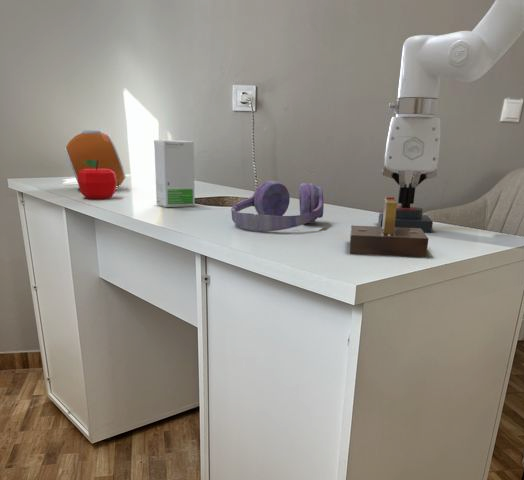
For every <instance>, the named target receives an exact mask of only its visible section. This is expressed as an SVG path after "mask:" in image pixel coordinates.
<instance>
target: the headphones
mask: <svg viewBox="0 0 524 480" xmlns="http://www.w3.org/2000/svg"><path fill="white" fill-rule="evenodd" d="M298 189H299V191H298V192H299V193H298V195H299V196H298V197H299V198H298V199H299V200H298V201H299V214H298V215H297V214H296V215H285V214H286V213H287V211H288V209H289V206H290V200H291V198H290V193H289V190H288V188H287V186H286V185H285V184H283V182H281V181H275V180H267V181H264V182H263V183H261V184H260V185H258V186H257V188H256V189H255V191H254V193H253V194H252V196H250V197H248V198H246V199H242V200H240V201H238V202H236V203H234V205H233V206H231V209H230V210H231V211H230V212H231V220H232V221H233V223H234V224H235V225H236V226H238V227H240V228H242V229H244V230H248V231H251V232H259V233H263V232H264V233H268V232H277V231H283V230H288V229H293V228H297V227H300V226H303V225H305V224H308V223H314V222H316V220H318V219H319V218H323V217H324V190H323V187H322V186H316V185H315V184H314V183H306V182H303V183H301V184H300V185H299V188H298ZM251 207H254V209H255V211H256V214H255V213H251V212H250V213H249V212H241V211H242V210H245V209H247V208H251Z"/></svg>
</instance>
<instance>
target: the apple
mask: <svg viewBox="0 0 524 480" xmlns="http://www.w3.org/2000/svg"><path fill="white" fill-rule="evenodd" d="M98 161H99V160H97V162H96V161H95V160H88V161H83V162H84V163H86V164H87V165H89V166H90V167H94V168H95V167H96V169H83V170H81V171H80V172H78V182H77V184H78V187H79V191H80V193H81V195H82V196H83V197H84V198H86V199H88V198H89V199H90V200H105V199H106V198H108V199H111V198H112V197H113V196H114V195H115V193H116V191H117V189H116V183H117V179H116V175H115V172H114V171H112V170H110V169H97V168H98ZM110 197H111V198H110ZM106 200H107V199H106Z"/></svg>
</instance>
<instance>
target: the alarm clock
mask: <svg viewBox="0 0 524 480" xmlns="http://www.w3.org/2000/svg"><path fill="white" fill-rule="evenodd" d="M64 152H65V155H66V158H67V160H68V162H69V165H70V167H71V169H72V171H73V175H74V177H75V179H76V182H77V183H78V172H80V171H81V170H83V169H96V167H95V168H94V167H90V166H89V165H87V164H86V163H84V162H83V161H88V160H95V161H96V162H97V160H99V161H98V168H97V169H110V170H112V171H114V172H115V175H116V179H117V183H116V186H118V188H119V187H120V186H121V185H122V184H123V182H124V181H125V179H126V173H125V170H124V167H123V164H122V161H121V158H120V156H119V153H118V151H117V148H116V146H115V143H114V141H113V139H112V136H111V135H109V134H106V133H104V132H103V131H102V130H101V129H83V130H82V132H81V133H78V134H76V135H75V136H74V137H72V138H71V139H70V140H69V141H68V143H67V145H66V146H65V147H64ZM119 185H120V186H119ZM116 188H117V187H116Z"/></svg>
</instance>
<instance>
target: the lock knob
mask: <svg viewBox="0 0 524 480" xmlns="http://www.w3.org/2000/svg"><path fill="white" fill-rule="evenodd" d="M397 206H398V201H397V200H396V199H395V197H394V196H391V197H390V196H385V198H384V203H383V212H382V213H383V223H382V229H383V232H384V234H394V227H395V218H396V208H397Z"/></svg>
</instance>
